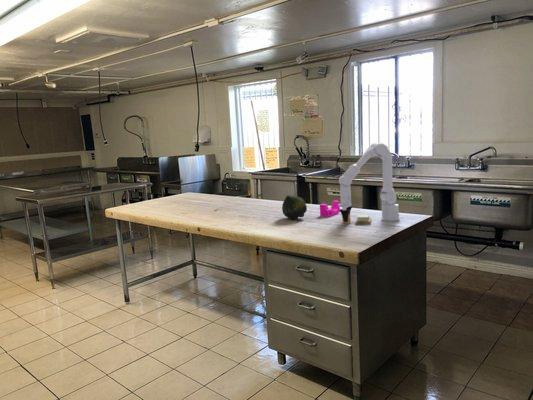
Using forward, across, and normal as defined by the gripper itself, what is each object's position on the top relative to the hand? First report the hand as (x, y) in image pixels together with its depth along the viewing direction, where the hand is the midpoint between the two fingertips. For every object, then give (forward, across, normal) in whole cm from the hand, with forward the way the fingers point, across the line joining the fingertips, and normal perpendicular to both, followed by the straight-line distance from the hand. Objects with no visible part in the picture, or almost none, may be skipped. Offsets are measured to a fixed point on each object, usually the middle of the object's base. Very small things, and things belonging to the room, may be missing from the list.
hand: (346, 220), depth 237 cm
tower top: (0, 0, +9) cm, 9 cm away
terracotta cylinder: (+2, 0, 0) cm, 2 cm away
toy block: (+2, -22, -12) cm, 25 cm away
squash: (+2, -9, -32) cm, 34 cm away
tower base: (+2, 0, +10) cm, 10 cm away
